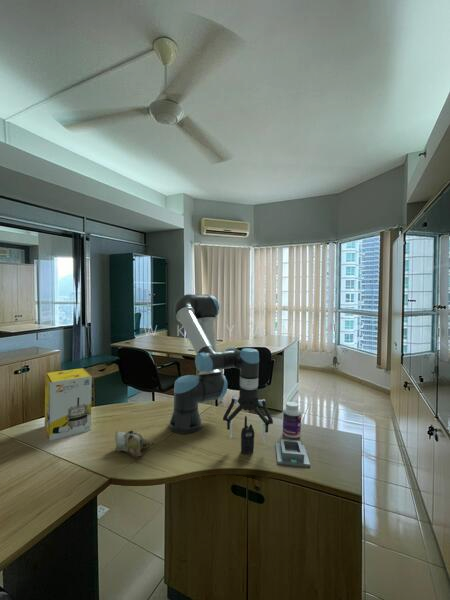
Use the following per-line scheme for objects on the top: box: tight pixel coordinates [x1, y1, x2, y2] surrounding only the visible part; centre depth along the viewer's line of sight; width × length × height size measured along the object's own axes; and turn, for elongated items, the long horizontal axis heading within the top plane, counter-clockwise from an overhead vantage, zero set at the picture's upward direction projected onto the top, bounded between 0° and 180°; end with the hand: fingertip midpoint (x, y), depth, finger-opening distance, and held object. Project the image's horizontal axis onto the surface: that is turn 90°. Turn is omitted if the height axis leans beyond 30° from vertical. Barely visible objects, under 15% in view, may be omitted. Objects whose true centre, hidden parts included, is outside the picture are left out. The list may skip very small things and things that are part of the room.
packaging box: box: [44, 367, 93, 442], centre depth 131 cm, size 16×16×25 cm
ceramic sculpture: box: [114, 430, 155, 458], centre depth 114 cm, size 11×9×15 cm
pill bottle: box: [282, 401, 302, 439], centre depth 131 cm, size 8×8×14 cm
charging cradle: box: [274, 439, 311, 468], centre depth 115 cm, size 12×14×4 cm
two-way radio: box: [240, 415, 255, 454], centre depth 117 cm, size 6×4×15 cm
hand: (247, 438), depth 117 cm, fingers open, 13 cm apart
